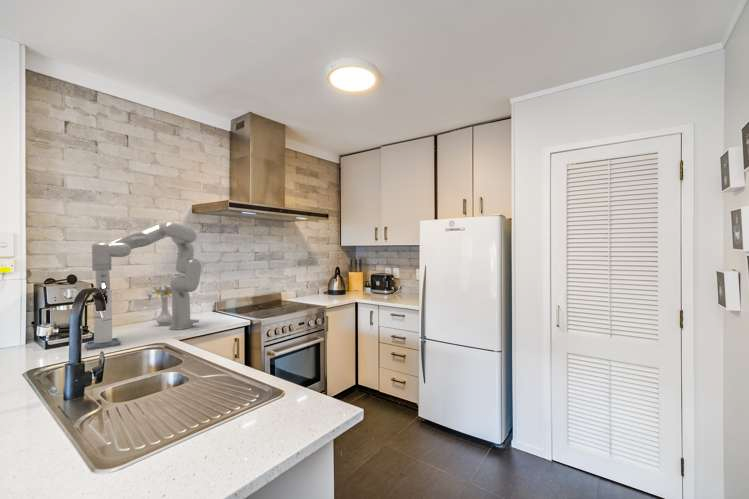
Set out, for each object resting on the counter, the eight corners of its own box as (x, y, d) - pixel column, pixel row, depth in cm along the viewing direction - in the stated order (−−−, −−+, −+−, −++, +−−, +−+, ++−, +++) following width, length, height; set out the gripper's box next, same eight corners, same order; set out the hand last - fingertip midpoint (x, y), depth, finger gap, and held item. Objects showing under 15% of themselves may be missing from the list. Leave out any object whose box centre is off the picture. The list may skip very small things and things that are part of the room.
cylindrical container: (96, 340, 172) (95, 291, 172) (114, 338, 175) (113, 290, 175) (92, 343, 166) (91, 292, 165) (110, 341, 169) (109, 291, 168)
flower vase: (144, 326, 213) (143, 286, 213) (176, 321, 227) (176, 283, 227) (150, 329, 205) (149, 287, 205) (183, 323, 218) (182, 285, 218)
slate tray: (117, 340, 179) (117, 337, 179) (120, 345, 170) (120, 342, 170) (85, 345, 171) (85, 342, 171) (86, 350, 161) (86, 347, 161)
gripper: (113, 267, 166) (113, 303, 166) (109, 266, 179) (110, 300, 179) (93, 268, 161) (94, 305, 161) (91, 267, 174) (91, 302, 174)
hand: (102, 302), depth 170 cm, fingers closed on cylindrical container, 7 cm apart
